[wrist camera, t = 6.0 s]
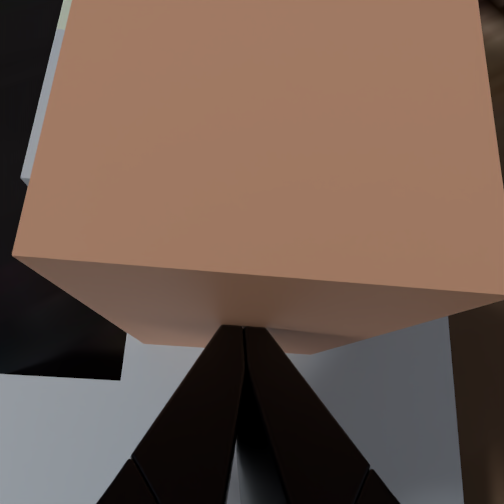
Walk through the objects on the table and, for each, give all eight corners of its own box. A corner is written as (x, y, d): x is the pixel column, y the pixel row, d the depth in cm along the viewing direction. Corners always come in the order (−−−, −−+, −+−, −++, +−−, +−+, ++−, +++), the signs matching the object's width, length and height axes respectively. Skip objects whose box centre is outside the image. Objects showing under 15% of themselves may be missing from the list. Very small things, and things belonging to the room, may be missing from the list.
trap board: (444, 730, 12) (534, 861, 9) (-75, 737, 11) (-196, 889, 8) (394, -48, 21) (429, -128, 18) (107, -90, 20) (88, -184, 17)
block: (311, 354, 13) (519, 295, 4) (143, 343, 12) (11, 255, 4) (314, 80, 16) (440, -270, 7) (179, 64, 16) (148, -327, 7)
